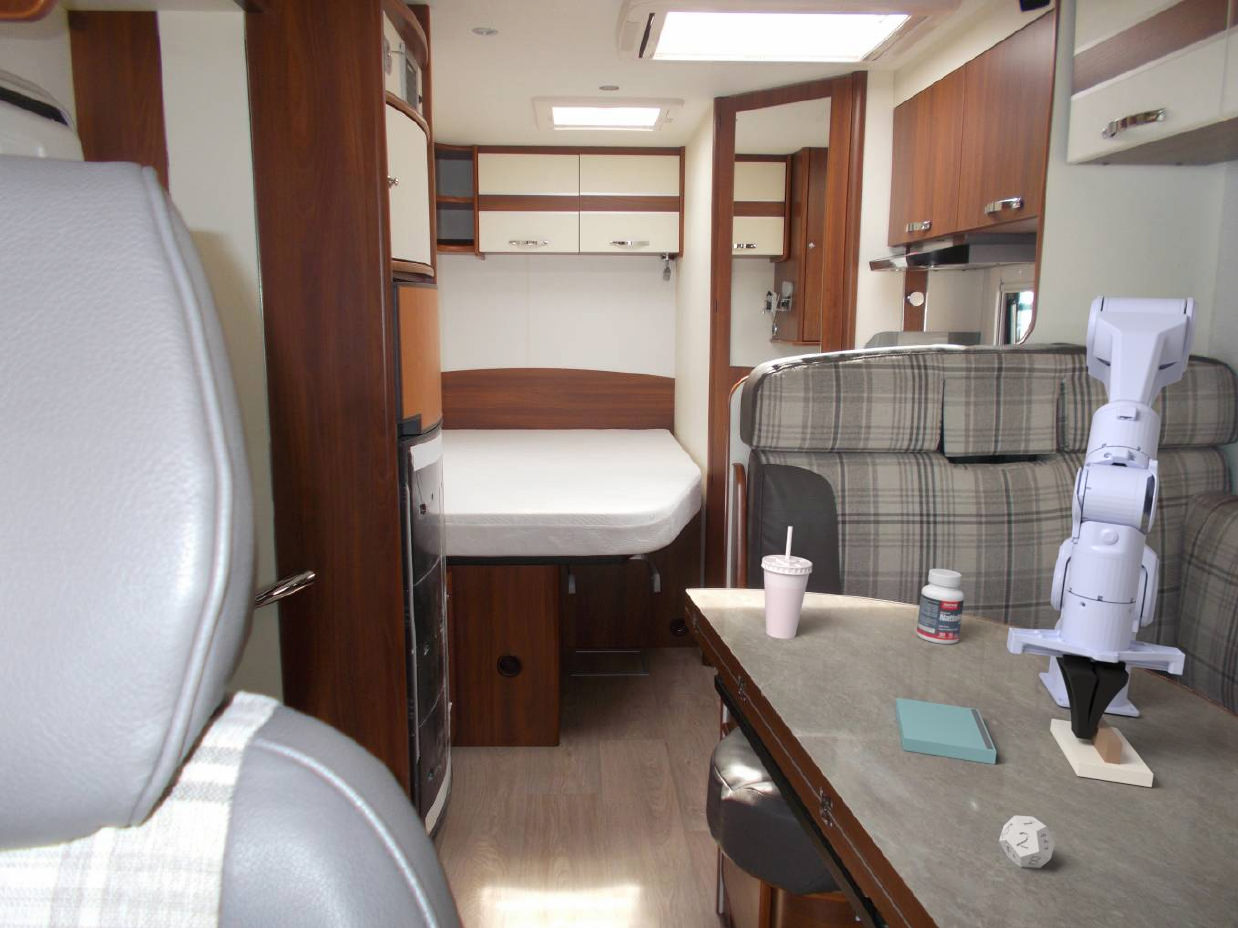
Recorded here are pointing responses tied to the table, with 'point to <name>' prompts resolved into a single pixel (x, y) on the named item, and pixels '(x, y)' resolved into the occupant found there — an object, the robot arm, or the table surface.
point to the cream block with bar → (1102, 754)
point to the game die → (1027, 841)
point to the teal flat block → (944, 731)
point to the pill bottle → (941, 607)
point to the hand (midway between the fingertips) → (1081, 734)
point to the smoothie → (784, 591)
